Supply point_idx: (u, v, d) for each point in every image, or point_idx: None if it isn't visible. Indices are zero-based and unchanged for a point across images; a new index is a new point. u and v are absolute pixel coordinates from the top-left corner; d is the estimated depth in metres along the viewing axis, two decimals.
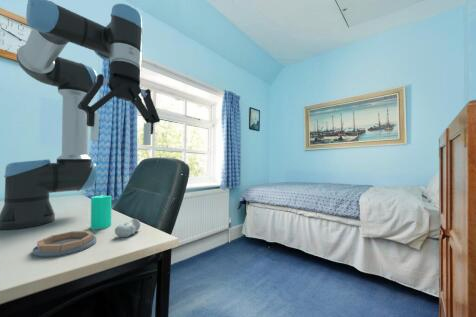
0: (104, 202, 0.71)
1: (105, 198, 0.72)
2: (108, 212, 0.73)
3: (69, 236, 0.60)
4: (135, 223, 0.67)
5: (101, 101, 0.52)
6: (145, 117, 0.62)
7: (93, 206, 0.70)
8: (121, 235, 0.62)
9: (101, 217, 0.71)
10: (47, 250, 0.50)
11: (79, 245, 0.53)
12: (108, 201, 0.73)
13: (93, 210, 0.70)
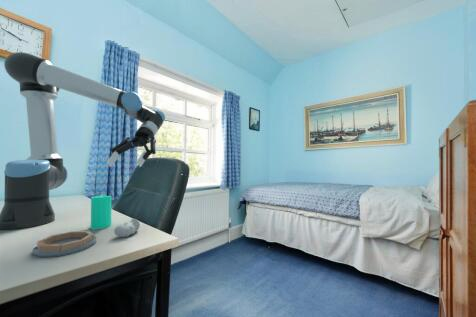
0: (104, 202, 0.71)
1: (105, 198, 0.72)
2: (108, 212, 0.73)
3: (69, 236, 0.60)
4: (135, 223, 0.67)
5: None
6: (120, 151, 0.91)
7: (93, 206, 0.70)
8: (121, 235, 0.62)
9: (101, 217, 0.71)
10: (47, 250, 0.50)
11: (79, 245, 0.53)
12: (108, 201, 0.73)
13: (93, 210, 0.70)
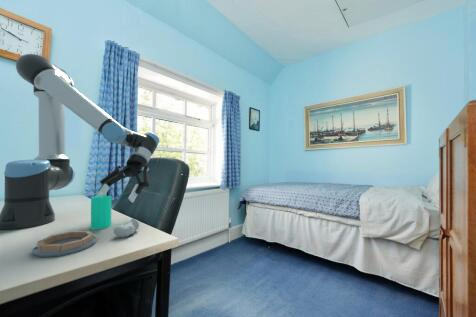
0: (104, 202, 0.71)
1: (105, 198, 0.72)
2: (108, 212, 0.73)
3: (69, 236, 0.60)
4: (134, 224, 0.67)
5: None
6: (110, 182, 0.84)
7: (93, 206, 0.70)
8: (120, 235, 0.62)
9: (101, 217, 0.71)
10: (47, 250, 0.50)
11: (79, 245, 0.53)
12: (108, 201, 0.73)
13: (93, 210, 0.70)
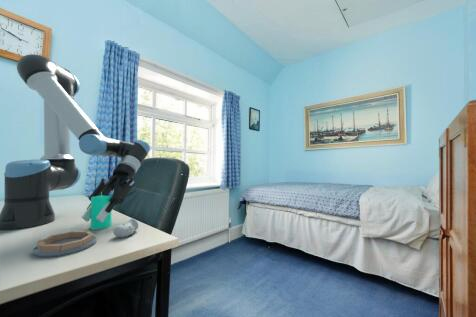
0: (104, 202, 0.71)
1: (105, 198, 0.72)
2: None
3: (69, 236, 0.60)
4: (133, 224, 0.67)
5: None
6: None
7: (93, 206, 0.70)
8: (120, 235, 0.61)
9: None
10: (47, 250, 0.50)
11: (79, 245, 0.53)
12: None
13: (93, 210, 0.70)
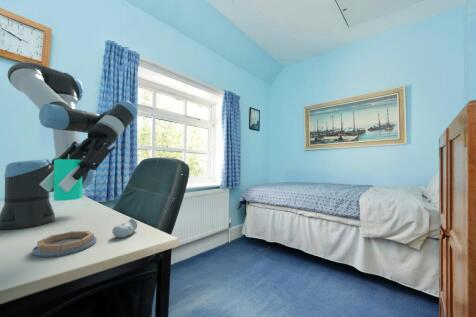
0: (71, 166, 0.54)
1: (72, 161, 0.54)
2: None
3: (69, 236, 0.60)
4: (132, 224, 0.67)
5: None
6: None
7: (56, 171, 0.53)
8: (119, 235, 0.61)
9: None
10: (47, 250, 0.50)
11: (79, 245, 0.53)
12: (76, 166, 0.55)
13: (56, 176, 0.53)
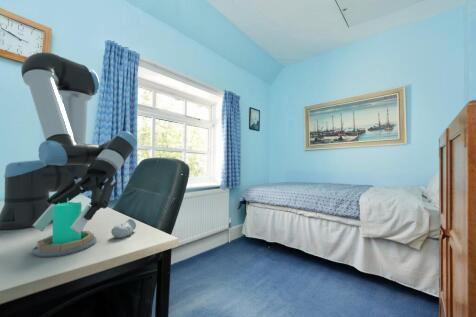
0: (70, 212, 0.54)
1: (71, 206, 0.54)
2: None
3: None
4: (131, 224, 0.67)
5: None
6: (62, 201, 0.60)
7: (55, 217, 0.53)
8: (118, 236, 0.61)
9: (66, 231, 0.53)
10: (47, 250, 0.50)
11: (79, 245, 0.53)
12: (76, 211, 0.55)
13: (55, 222, 0.53)
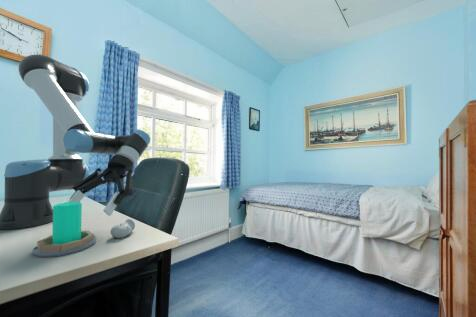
0: (70, 212, 0.54)
1: (72, 206, 0.54)
2: (76, 224, 0.55)
3: None
4: (130, 224, 0.67)
5: None
6: (86, 189, 0.68)
7: (55, 217, 0.53)
8: (118, 236, 0.61)
9: (66, 231, 0.53)
10: (47, 250, 0.50)
11: (79, 245, 0.53)
12: (76, 211, 0.55)
13: (55, 222, 0.53)
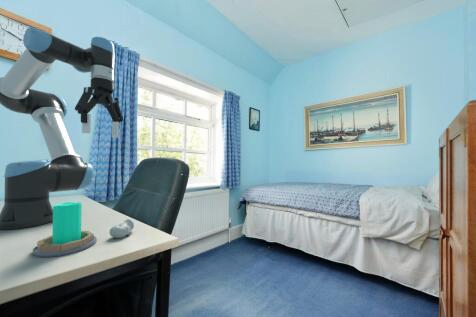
0: (70, 212, 0.54)
1: (71, 206, 0.54)
2: (76, 224, 0.55)
3: None
4: (129, 224, 0.66)
5: (91, 106, 0.74)
6: (114, 117, 0.86)
7: (55, 217, 0.53)
8: (117, 236, 0.61)
9: (66, 231, 0.53)
10: (47, 250, 0.50)
11: (79, 245, 0.53)
12: (76, 211, 0.55)
13: (55, 222, 0.53)
